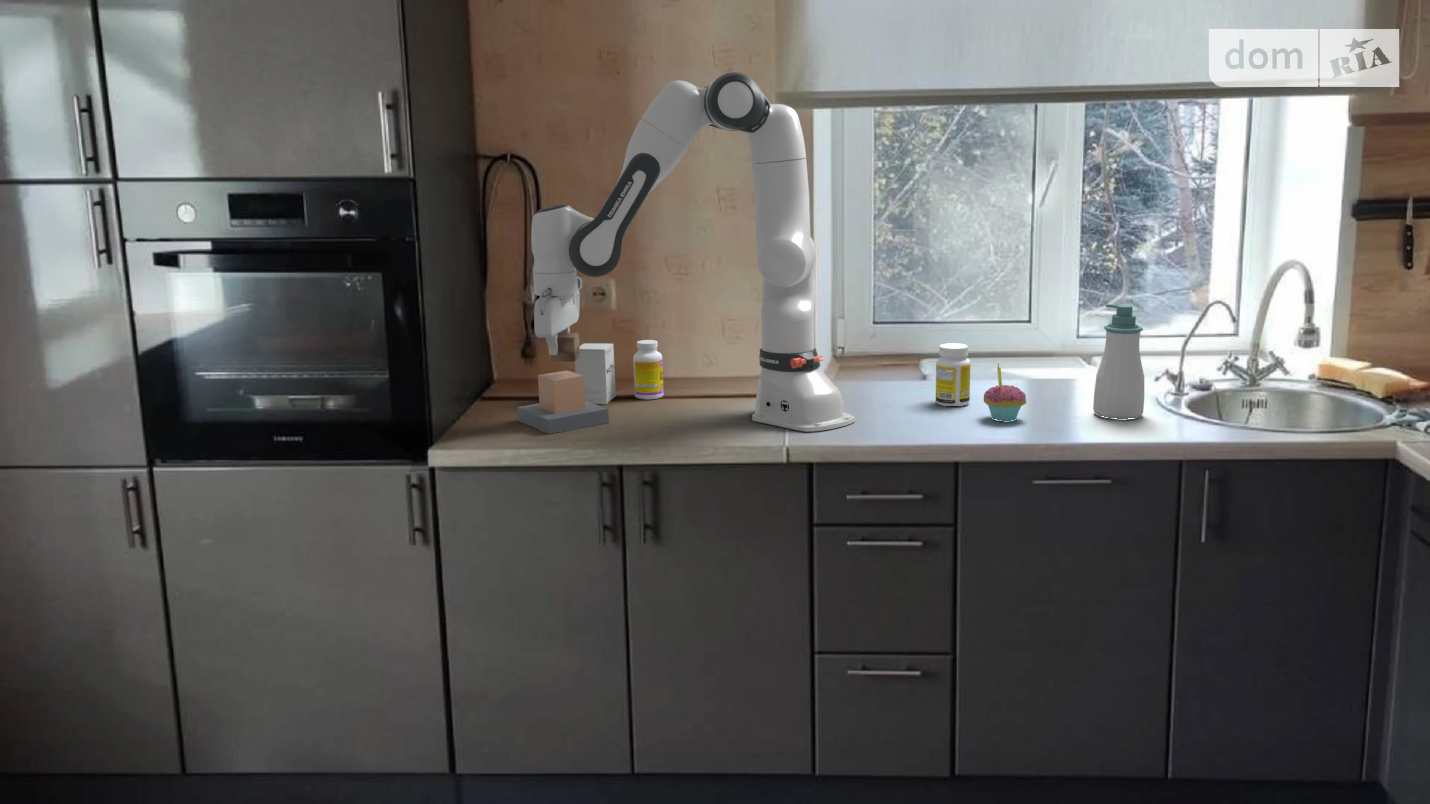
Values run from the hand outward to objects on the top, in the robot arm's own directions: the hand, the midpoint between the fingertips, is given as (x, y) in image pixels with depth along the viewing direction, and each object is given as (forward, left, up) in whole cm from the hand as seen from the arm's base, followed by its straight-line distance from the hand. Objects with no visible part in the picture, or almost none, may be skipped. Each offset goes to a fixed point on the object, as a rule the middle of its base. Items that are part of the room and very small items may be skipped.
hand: (558, 351), depth 237 cm
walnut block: (-1, -1, -2) cm, 2 cm away
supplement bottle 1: (+7, -26, -15) cm, 31 cm away
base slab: (0, 0, -15) cm, 15 cm away
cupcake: (-58, -71, -15) cm, 93 cm away
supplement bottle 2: (-42, -73, -15) cm, 86 cm away
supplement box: (+12, -15, -15) cm, 25 cm away
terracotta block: (0, 0, -12) cm, 12 cm away
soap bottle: (-71, -91, -15) cm, 117 cm away
